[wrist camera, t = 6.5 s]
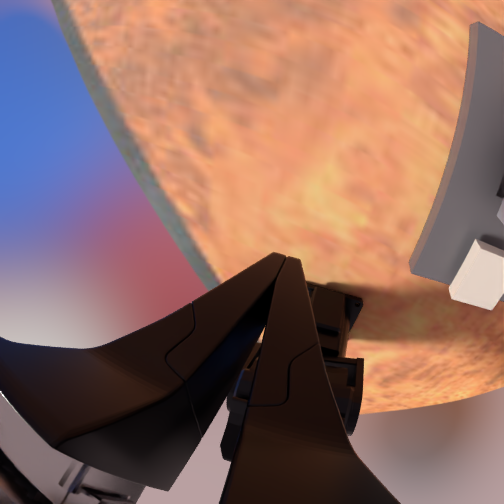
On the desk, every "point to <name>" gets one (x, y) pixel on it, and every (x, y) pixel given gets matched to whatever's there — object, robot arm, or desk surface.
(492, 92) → the keypad board
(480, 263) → the key cream
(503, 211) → the key slate
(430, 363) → the desk surface
